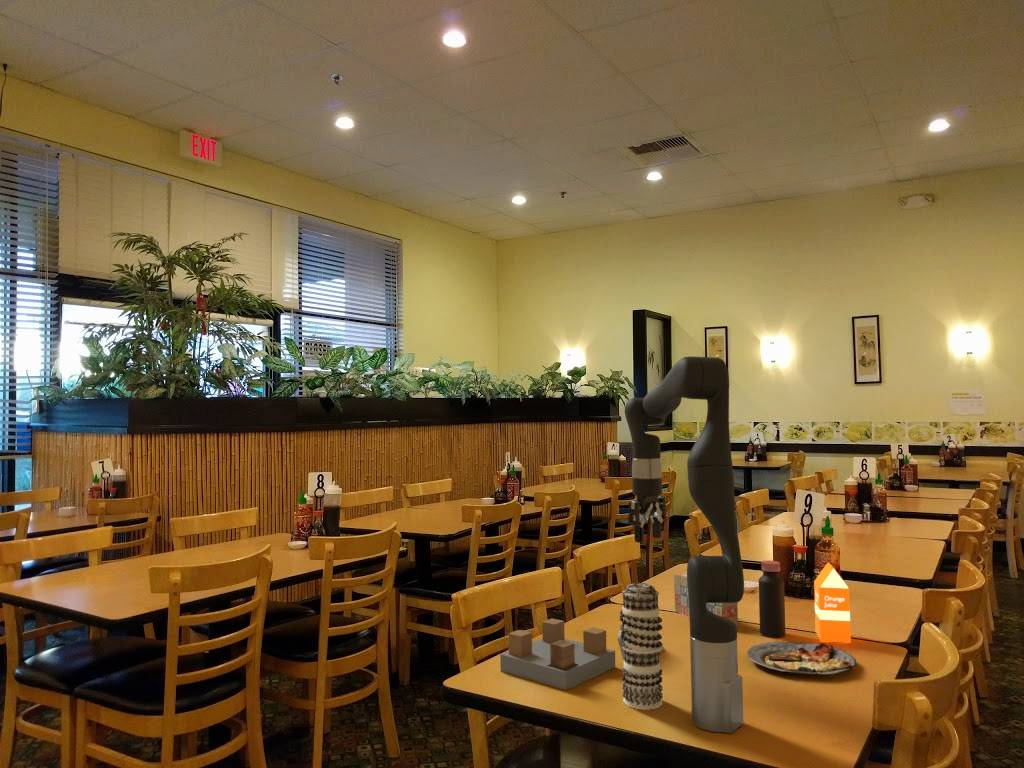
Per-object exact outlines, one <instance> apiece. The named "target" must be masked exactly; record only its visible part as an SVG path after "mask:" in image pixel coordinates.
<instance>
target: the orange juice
mask: <svg viewBox="0 0 1024 768" xmlns="http://www.w3.org/2000/svg"><path fill="white" fill-rule="evenodd" d="M813 582H814V585H813V586H814V613H815V614H814V615H815V616H814V618H815V619H814V623H815V634H816V633H817V634H816V636H817V635H818V636H817V638H818V637H819V638H818V639H820V640H819V641H820V643H829V642H843V643H842V644H847V643H852V642H851V641H852V639H851V610H850V609H851V607H850V604H851V603H850V588H849V586H848V585H847V584H846V582H845V581H844V579H842V577H841V575H840V574H839V573H838V572H837V571H836V569H835V568H834V567H833V565H831V563H830V562H829V561H828V562H827V563H826V565H825V566H823V568H822V570H821V571H820V572H819V574H818V576H817V577H816V578H815V580H814V581H813ZM844 642H845V643H844Z"/></svg>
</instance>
